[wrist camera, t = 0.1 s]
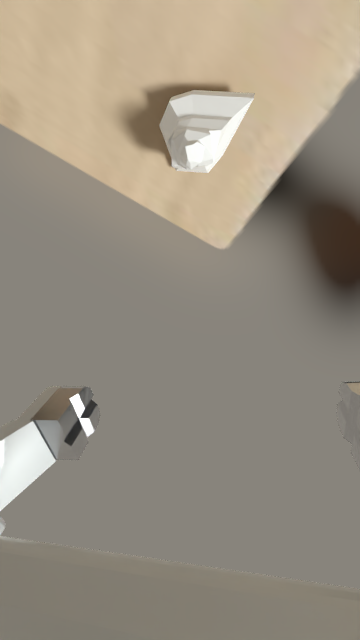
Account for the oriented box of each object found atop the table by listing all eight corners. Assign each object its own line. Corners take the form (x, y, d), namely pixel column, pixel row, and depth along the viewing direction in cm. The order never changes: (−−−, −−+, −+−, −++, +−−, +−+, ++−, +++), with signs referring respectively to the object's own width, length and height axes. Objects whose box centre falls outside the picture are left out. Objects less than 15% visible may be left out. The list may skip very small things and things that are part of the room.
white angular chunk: (236, 168, 50) (228, 213, 43) (163, 156, 51) (144, 198, 44) (255, 86, 39) (249, 129, 32) (162, 73, 40) (136, 111, 33)
